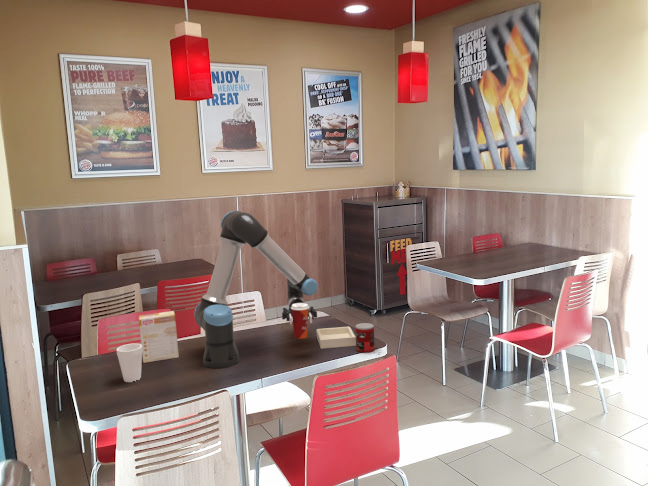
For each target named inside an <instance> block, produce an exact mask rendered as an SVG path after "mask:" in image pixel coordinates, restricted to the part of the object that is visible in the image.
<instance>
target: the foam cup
mask: <svg viewBox="0 0 648 486" xmlns="http://www.w3.org/2000/svg"><path fill="white" fill-rule="evenodd" d="M142 351H143V350H142V345H141V343H137V342H136V343H128V344H123V345H119V347H117V348H116V355H117V359H118V363H119V367H120V370H121V375H122V378H123V381H124V383H125V382H126V383H134V382H133V381H135V382H137V381H136V380H138V381H139V380H141V379H140V378H142V363H143V356H142Z"/></svg>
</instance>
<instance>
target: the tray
mask: <svg viewBox="0 0 648 486" xmlns="http://www.w3.org/2000/svg"><path fill="white" fill-rule="evenodd" d="M315 333H316V339H317V341H318V345H319V348H320V349H321V350H322V349H333V348H335V349H336V348H345V347H347V348H348V347H354V346H355V347H356V334H354V333H355V332H354V331H353V330H352V328H351V327H350V326H341V327H340V326H339V327H328V328H325V327H324V328H317V329H316V331H315Z"/></svg>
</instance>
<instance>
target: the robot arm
mask: <svg viewBox="0 0 648 486" xmlns="http://www.w3.org/2000/svg"><path fill="white" fill-rule="evenodd" d="M220 223H221V224H220V227H221V232H220V236H219V238H220V240H221V244H220V248H219V251H218V253H217V258H216V261H215V264H214V267H213V268H214V269H213V271H212V274H211V278H210V281H209V285H208V288H207V291H206V293H205V294H204V295H202V296H201V299H200V303H198V304H196V306H195V308H194V309H195V310H194V315H193V316H194V319H195V322H196V324H197V325H198V326H199V327H200V328H201V329H203V331H204V333H205V348H204V353H203V357H202V365H203V366H205V367H206V368H209V369H210V368H211V369H223V368H228V367H231V366H233V365H236V364H238V363H239V361H240V353H239V351H238V349H237V348H238V347H237V346H236V343H235V337H234V336H235V335H234V319H233V318H234V316H233V311H232V308H231V307H230V306H228V303H229V302H228V301H227V296H228V291H229V289H230V285H231V282H232V278H233V275H234V271H235V269H236V265H237V262H238V258H239V255H240V251H241V248H242V247H244V246H246V243H247V244H248V245H249V246H250V247H251V248H252V249H256V250H257V251H259V253H260V254H262V255H263V256H264V257H265V258H266V260H267V261H269V262H270V263H271V264H272V265H273V267H275V268H276V270H278V271H279V272H280V273H281V274H282V275H283V276H284V277H285V278H286V279H287V280H286V282H287V287H286V288H287V298H286V300H287V305H288V308H286V307H283V308H282V313H281V319H282V320H286V322H289V324H290V325H293V318H292V309H291V307H292V304H295V303H305V300H304V298H305V297H304V296H309V297H310V296H313V295H315V294H316V293H317V291H318V290H319V284H318V282H317V281H316V280H315V279H314V278H311V277H310V276H309V275H308V274H307V273H306V272H305V271H304V270H303V269H302V267H300V265H299V264H297V263H296V262H295V261H294V260H293V259H292V258H291V256H289V255H288V253H286V252H285V250H283V249H282V248H281V247H280V246H279V245H278V244H277V243H276V241H275V240H273V238H272V237H270V236H269V231H268V230H267V229H266V228H265V227H264V226H263V225H262V223H260V222H259V220H258V219H256V217H254V215H252V214H251V213H249V212H246V211H245V212H244V211H241V210H233V211H232V210H231V211H229V212H227V213H226V214H225V215H224V216H223V218H222V219H221V222H220ZM308 307H309V308H308V322H309V323H310V324H313V320H314V319H317V318H318V311H317V310H316V309H315V308H314V306H308Z"/></svg>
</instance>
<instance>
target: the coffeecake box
mask: <svg viewBox="0 0 648 486" xmlns="http://www.w3.org/2000/svg"><path fill="white" fill-rule="evenodd" d="M176 322H177V320H176V314H175V311H174V310H172V311H171V310H170V311H163V312H156V313H149V314H140V315H139V316H138V323H139V335H140V344H141V345H142V350H143V351H142V363H150V362H156V361H157V362H158V361H164V360H169V359H170V360H171V359H177V358H179V357H180V356H179V346H178V345H179V344H178V332H177V324H176Z"/></svg>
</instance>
